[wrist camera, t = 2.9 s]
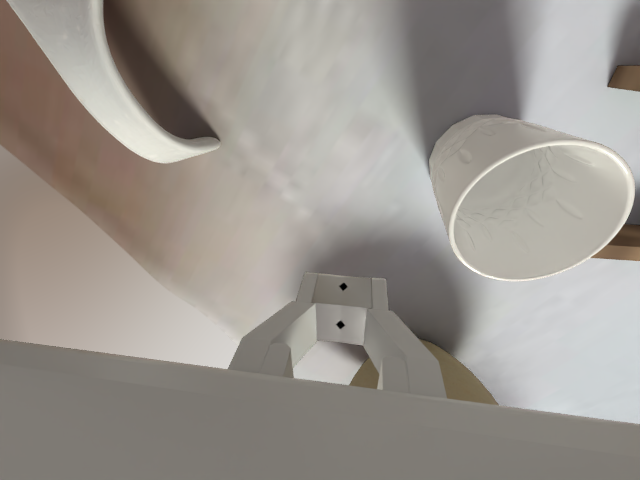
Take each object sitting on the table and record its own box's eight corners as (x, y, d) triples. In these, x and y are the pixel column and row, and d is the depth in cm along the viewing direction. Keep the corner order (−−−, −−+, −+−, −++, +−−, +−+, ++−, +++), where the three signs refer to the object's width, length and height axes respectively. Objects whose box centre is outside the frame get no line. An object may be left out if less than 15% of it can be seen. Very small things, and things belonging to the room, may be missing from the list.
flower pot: (312, 352, 39) (292, 456, 29) (416, 283, 30) (440, 400, 20) (403, 409, 43) (414, 516, 33) (518, 365, 34) (579, 493, 24)
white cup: (437, 217, 25) (470, 296, 17) (406, 136, 22) (429, 185, 14) (538, 181, 22) (636, 255, 14) (520, 81, 19) (635, 102, 11)
